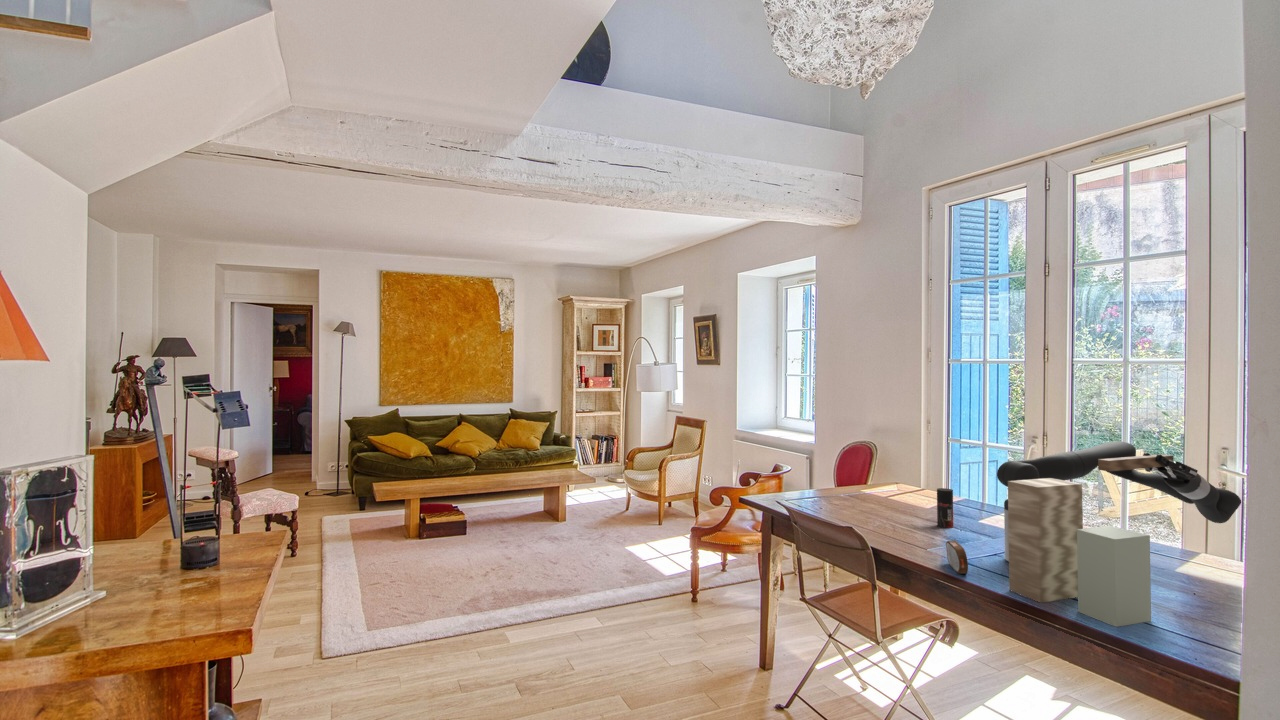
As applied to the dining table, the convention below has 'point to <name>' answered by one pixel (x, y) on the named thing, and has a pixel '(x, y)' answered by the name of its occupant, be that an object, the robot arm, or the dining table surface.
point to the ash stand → (1044, 538)
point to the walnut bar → (1130, 462)
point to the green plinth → (1114, 575)
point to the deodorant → (945, 508)
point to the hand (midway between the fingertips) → (1151, 456)
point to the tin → (957, 557)
